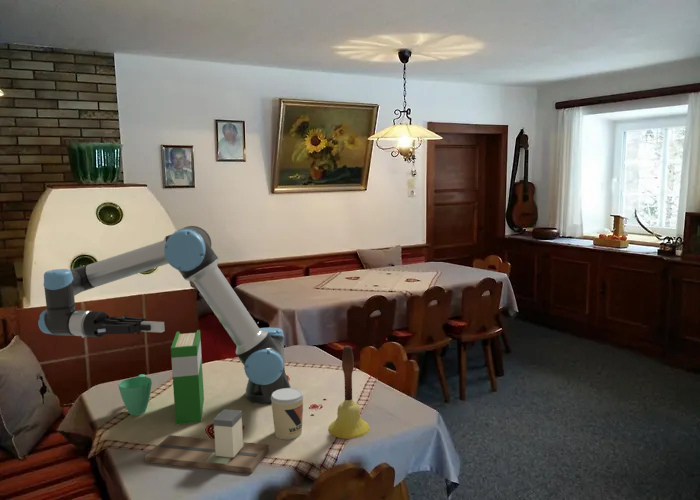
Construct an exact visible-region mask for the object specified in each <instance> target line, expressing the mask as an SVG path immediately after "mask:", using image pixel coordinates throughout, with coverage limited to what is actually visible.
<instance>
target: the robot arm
mask: <svg viewBox="0 0 700 500" xmlns="http://www.w3.org/2000/svg"><path fill="white" fill-rule="evenodd" d="M168 264H169V266H171V267H172V268H173V269H175V270H177V271H178V272H179V273H180V275H181V276H182V277H183V279H184V281H188V282H192V283H193V285H195V287H196V288H197V290H198V291H199V293H200V294H201V296H202V297H203V299H204V301H205V302H206V304H207V305H208V306H209V307H210V309H211V311H212V312H213V313H214V315H215V316H216V318H217V320H218V321H219V323H220V324H221V325H222V326H223V328H224V330H225V331H226V332H227V334H228V335H229V337H230V338H231V340H232V341H233V343H234V344H235V345H236V349H235V354H236V356H237V358H238V359H239V360H240V362H241V364H242V365H243V369H244V373H245V376H246V377H247V379H248V381H247V384H246V388H245V398H246V399H247V400H248V401H250V402H253V403H256V404H272V401H271V395H272V393H273V392H274V391H276V390H279V389H283V388H291V385H290V382H289V379H288V377H287V374H286V370H285V369H286V368H285V367H286V365H285V343H284V340H285V339H284V338H285V336H284V331H283V329H282V328H280V327H259V326H258V324H257V323H256V321H255V320H254V318H253V316H251V314H250V312H249V311H248V310H247V307H246V306H245V305H244V303H243V302H242V301H241V299H240V297H239V296H238V294H237V293H236V291H234V288H233V287H232V286H231V284H230V283H229V281H228V279H226V277H225V275H224V273H223V272H222V271H221V269H220V268H219V267H218V264H219V257H218V256H217V254H216V253H215V252H214V250H213V249H212V239H211V236H210V235H209V233H208V232H207V231H206V229H203V228H202V227H200V226H196V225H188V226H185V227H182V228H180V229H178V230H176V231H174V232H173V233H172V234H169V235H166V236H164V238H163V240H160V241H158V242H154V243H151V244H149V245H145V246H142V247H139V248H136V249H133V250H130V251H126V252H124V253H121V254H117V255H115V256H111V257H108V258H104V259H102V260H99V261H95V262H92V263H90V264H89V263H88V264H87V265H84V266H80V267H75V268H72V269H67V268H59V269H51V270H48V271H45V272H44V274H43V287H44V296H45V304H46V309H44V310H42V312H41V313H40V314H39V319H38V322H37V324H38V327H39V330H40V331H41V332H42V333H43V334H47V335H52V336H53V335H54V336H68V337H69V336H71V337H72V336H74V337H75V336H76V337H81V338H83V339H85V337H91V338H101V337H104V336H105V335H125V334H126V335H130V334H131V335H133V334H135V333H136V335H141V332H144V333H163V332H165V331H166V330H165V321H154V320H153V321H151V320H149V321H148V318H145V317H135V316H129V315H125V314H124V315H122V317H118V316H109V315H108V313H107V312H105V311H103V310H102V311H101V310H100V311H99V310H84V309H83V310H79V309H78V310H77V309H76V301H75V296H76V295H78V294H80V293H82V292H85V291H88V290H92V289H95V288H98V287H100V286H103V285H106V284H111V283H114V282H115V281H118V280H122V279H124V278H125V279H126V278H128V277H132V276H134V275H138V274H140V273H144V272H147V271H151V270H152V269H156V268H159V267H163V266H165V265H168Z"/></svg>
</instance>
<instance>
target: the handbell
mask: <svg viewBox="0 0 700 500" xmlns="http://www.w3.org/2000/svg"><path fill="white" fill-rule="evenodd" d="M354 361H355V360H354V352H353V348H352V346H351V345H344V346H343V350H342V356H341V369H342V371H343V372H342V373H343V375H344V401H342V402H340V404H339V405H338V406H337V412H336V414H337V417H336V419H335V420H334V421H332V422H331V423H330V424H329V426H328V430H327V431H328V432H329V433H328V434H330V435H332V436H333V437H334V438H335V437H336V438H338V439H344V440H345V439H346V440H347V439H348V440H349V439H350V440H351V439H359V438H362V437H364V436H366V435H367V434H369V432H370V431H371V427H370V425H369V423H368V422H367V421H365V420H363V418H362V417H361V407H360V405H359V404H358V403H357V402H355V401H354V400H353V371H354V366H355V364H354V363H355V362H354Z"/></svg>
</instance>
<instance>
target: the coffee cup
mask: <svg viewBox="0 0 700 500" xmlns="http://www.w3.org/2000/svg"><path fill="white" fill-rule="evenodd" d="M271 401H272V403H271V410H272V418H273V419H272V420H273V427H274V434H275V436H276V438H277V439H281V440H293V439H297V438H299V437H300V436H301V435H302V433H303V416H304V415H303V412H304V393H303V391H302V390H300V389H299V388H294V387H290V388H283V389H279V390H276V391H274V392H273V393H272V395H271Z"/></svg>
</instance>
